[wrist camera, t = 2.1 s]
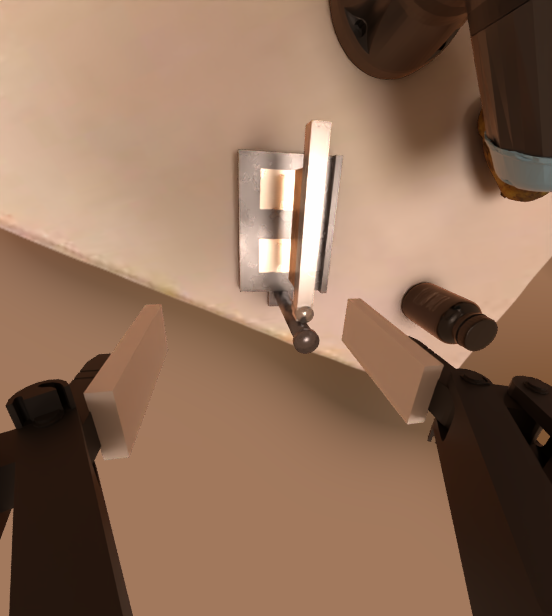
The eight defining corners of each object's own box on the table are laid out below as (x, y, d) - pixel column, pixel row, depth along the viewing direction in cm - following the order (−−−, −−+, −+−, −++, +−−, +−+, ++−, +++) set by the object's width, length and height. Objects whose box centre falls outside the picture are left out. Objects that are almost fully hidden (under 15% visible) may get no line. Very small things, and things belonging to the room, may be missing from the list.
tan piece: (291, 136, 27) (311, 118, 21) (308, 137, 27) (334, 121, 21) (282, 298, 34) (295, 323, 27) (296, 297, 34) (312, 322, 28)
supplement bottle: (400, 323, 46) (453, 363, 35) (400, 286, 43) (459, 318, 33) (436, 314, 47) (500, 351, 36) (439, 277, 44) (510, 305, 33)
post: (268, 281, 39) (290, 327, 26) (292, 281, 40) (325, 325, 27) (267, 304, 40) (288, 358, 27) (291, 303, 41) (322, 356, 28)
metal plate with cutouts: (237, 151, 32) (239, 147, 29) (333, 158, 34) (343, 155, 31) (239, 287, 39) (240, 294, 36) (319, 285, 41) (326, 292, 38)
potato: (525, 88, 35) (603, 62, 28) (512, 193, 40) (575, 194, 33) (466, 105, 34) (530, 83, 27) (461, 208, 40) (513, 213, 33)
